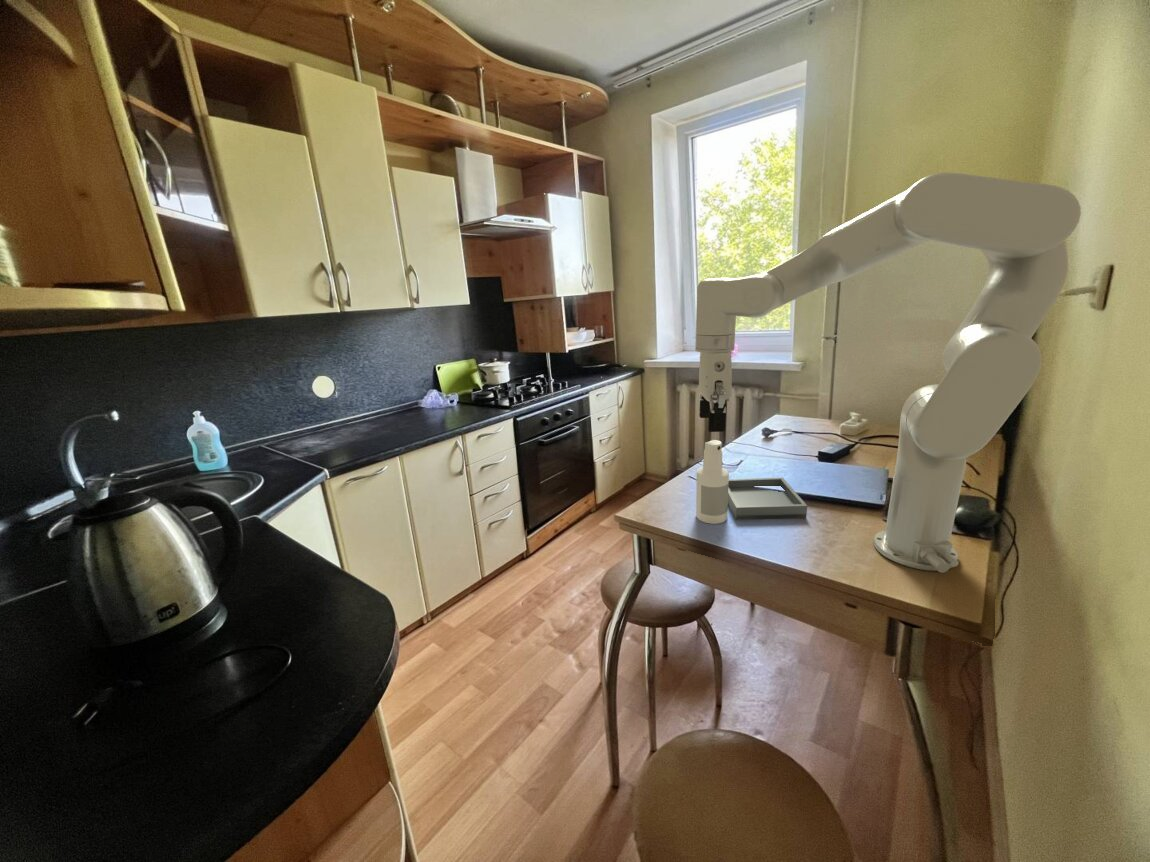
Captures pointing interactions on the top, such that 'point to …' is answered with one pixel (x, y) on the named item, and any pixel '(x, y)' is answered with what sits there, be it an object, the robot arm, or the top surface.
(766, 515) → the tray
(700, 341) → the robot arm
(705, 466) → the spray bottle
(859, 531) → the top surface
